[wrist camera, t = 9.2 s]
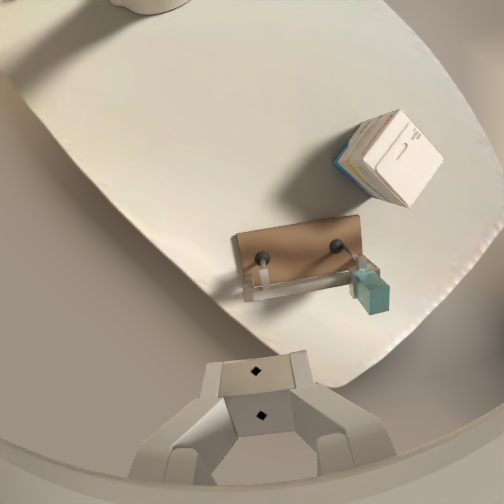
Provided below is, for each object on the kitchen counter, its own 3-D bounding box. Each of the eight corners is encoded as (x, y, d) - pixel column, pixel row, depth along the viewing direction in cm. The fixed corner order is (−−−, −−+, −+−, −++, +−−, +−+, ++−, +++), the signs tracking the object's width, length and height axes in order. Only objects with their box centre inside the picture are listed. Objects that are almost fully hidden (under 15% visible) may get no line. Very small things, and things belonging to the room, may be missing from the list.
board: (237, 233, 42) (233, 248, 34) (356, 214, 41) (378, 225, 33) (247, 284, 44) (245, 308, 37) (360, 264, 43) (380, 284, 36)
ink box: (372, 199, 40) (410, 211, 29) (330, 162, 39) (359, 161, 28) (402, 157, 38) (446, 158, 27) (363, 119, 37) (400, 106, 26)
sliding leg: (333, 243, 41) (366, 276, 28) (352, 239, 41) (392, 271, 28) (336, 275, 42) (367, 318, 29) (354, 271, 42) (391, 312, 29)
